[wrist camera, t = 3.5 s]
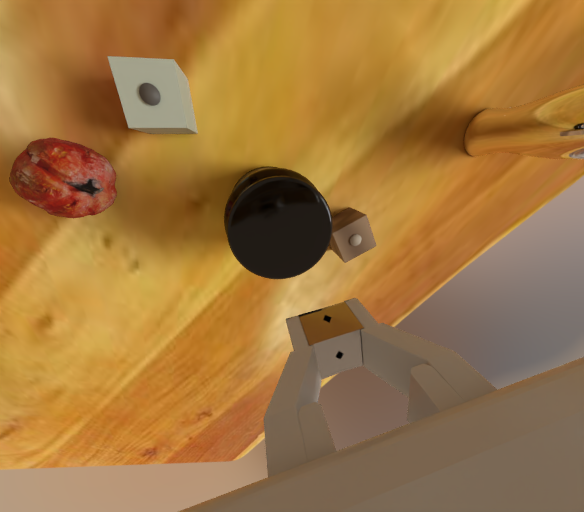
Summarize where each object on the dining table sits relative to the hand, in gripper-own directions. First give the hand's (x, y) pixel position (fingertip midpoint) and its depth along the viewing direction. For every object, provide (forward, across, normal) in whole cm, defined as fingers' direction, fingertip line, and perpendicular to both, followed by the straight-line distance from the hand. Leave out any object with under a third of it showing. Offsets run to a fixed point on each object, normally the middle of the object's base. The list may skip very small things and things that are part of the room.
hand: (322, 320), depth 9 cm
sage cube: (+23, +8, -13) cm, 28 cm away
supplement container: (+23, 0, 0) cm, 23 cm away
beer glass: (+23, -33, -3) cm, 41 cm away
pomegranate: (+24, +19, -8) cm, 31 cm away
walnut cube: (+23, -10, +6) cm, 26 cm away
